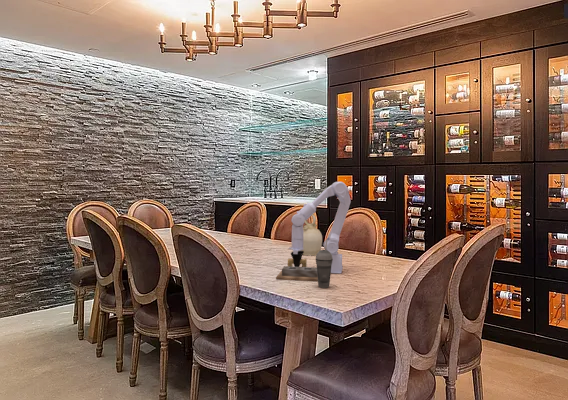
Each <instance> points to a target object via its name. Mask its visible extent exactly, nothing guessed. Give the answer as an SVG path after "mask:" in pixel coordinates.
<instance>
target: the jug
mask: <svg viewBox="0 0 568 400" xmlns="http://www.w3.org/2000/svg"><path fill="white" fill-rule="evenodd" d="M310 217H312V222H311V223H310V222H308V219H307V218H306V219H307V220H304V224H305V225H304V224H303V230H304V231H303V248H304V250H301V251H304V253H303V255H302V256H310V255H311V256H316V255H317V253H318V252H319V251H320V250H322V246H323V235H322V232H321V231H320V229H318V228H317V226H318V225H317V224H316V221H317V217H316V215H315V213H314V214H312V215H311V216H310Z"/></svg>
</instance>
